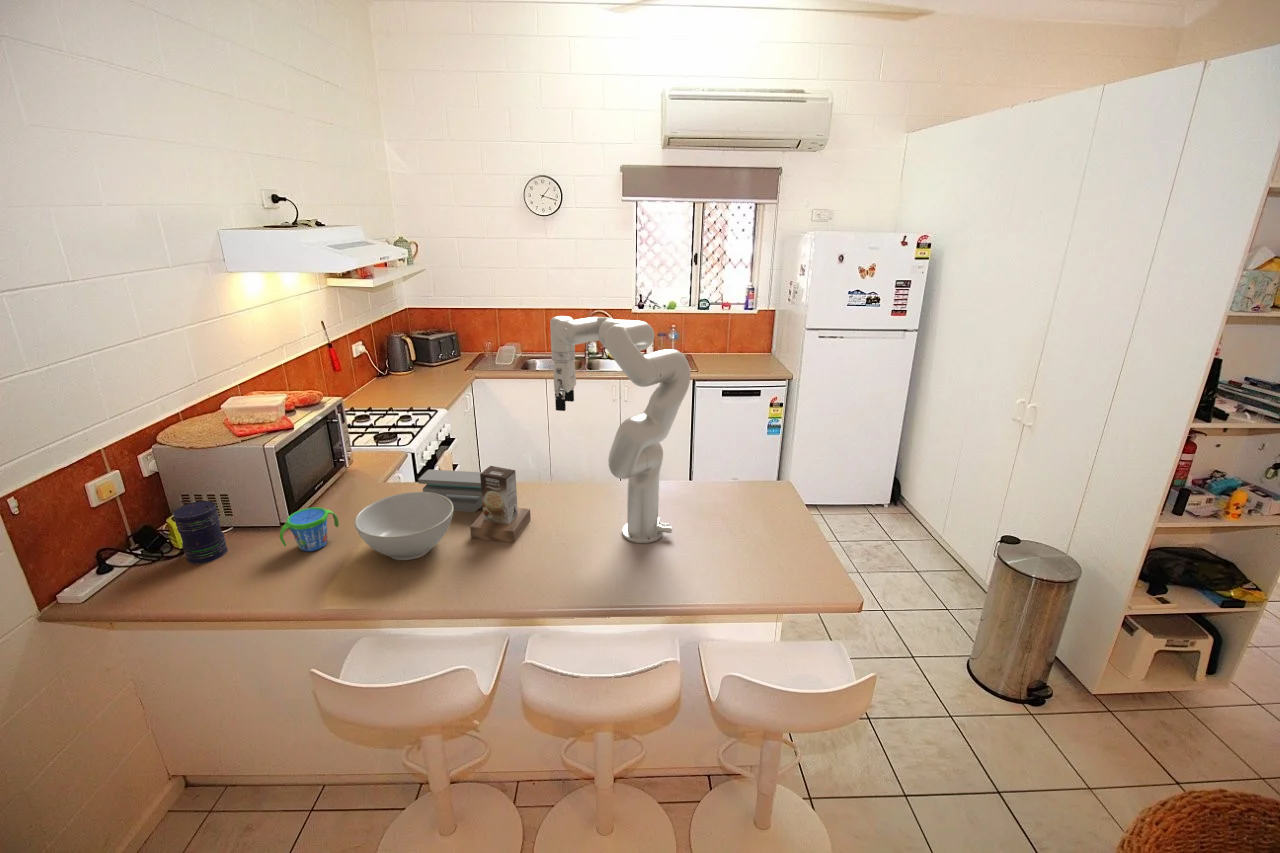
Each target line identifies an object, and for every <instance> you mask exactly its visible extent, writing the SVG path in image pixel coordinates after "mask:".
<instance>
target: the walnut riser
mask: <svg viewBox="0 0 1280 853" xmlns="http://www.w3.org/2000/svg"><path fill="white" fill-rule="evenodd" d="M517 508H518V516H517V517H516V518H515V519H514V520H513V521H512V522H511V523H510V524H509V525H506V524H501V523H497V522H492V521H487V520H484V515H483V511H482V513H481V514H479V516H477V518H476V519H475V520H474V521H473V523H472V524H471V525H470V526H469V528H470V529H469V530H470V538H471V539H477V540H484V541H485V540H487V541H494V542H504V543H505V542H506V543H513V544H514V543H516V542H517V540H518V539H519V538H520V536H521V535H522V533H523V532H524V530H525V529H526V527H527V526H528V525H529V523H530V522H531V520H532V519H531V509H530V508H522V507H521V508H520V507H517Z"/></svg>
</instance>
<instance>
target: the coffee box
mask: <svg viewBox="0 0 1280 853" xmlns="http://www.w3.org/2000/svg"><path fill="white" fill-rule="evenodd" d="M481 472H482V473H481V474H480V479H481V491H482V503H483V505H482V510H483V511H482V512H483V515H484V520H487V521H492V522H497V523H501V524H506V525H509V524H510V523H511V522H512V521H513V520H514V519H515V518H516V517H517V516H518V508H519V507H518V492H517V479H516V478H517V476H516V474H517V473H516V469H511V468H504V467H499V466H494V465H490V466H488V467H487V468H486V469H484V470H483V471H481Z"/></svg>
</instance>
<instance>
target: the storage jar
mask: <svg viewBox="0 0 1280 853" xmlns="http://www.w3.org/2000/svg"><path fill="white" fill-rule="evenodd" d="M172 514H173V518H174V520H175V521H174V523H175V527H176V530H177V531H178V532H177V533H179V534H180V538H181V541H182V542H181V544H182V545H181V546H182V550H183V553H184V555H185V557H186V561H187V563H189V564H192V565H204V564H207V563H211V562H214V561H216V560H218V559H220V558H222V557H223V556H225V555H226V554H227V552H228V547H227V540H226V538H225V533H224V532H223V531H222V528H221V524H220V522H221V519H220V517H219V516H220V515H219V512H218V510H217V507H216V503H215V502H214V501H211V500H199V501H195V502H190V503H187V504H184V505H182V506H179V507H178V508H176V509H175V510H174V511H173V513H172Z"/></svg>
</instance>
